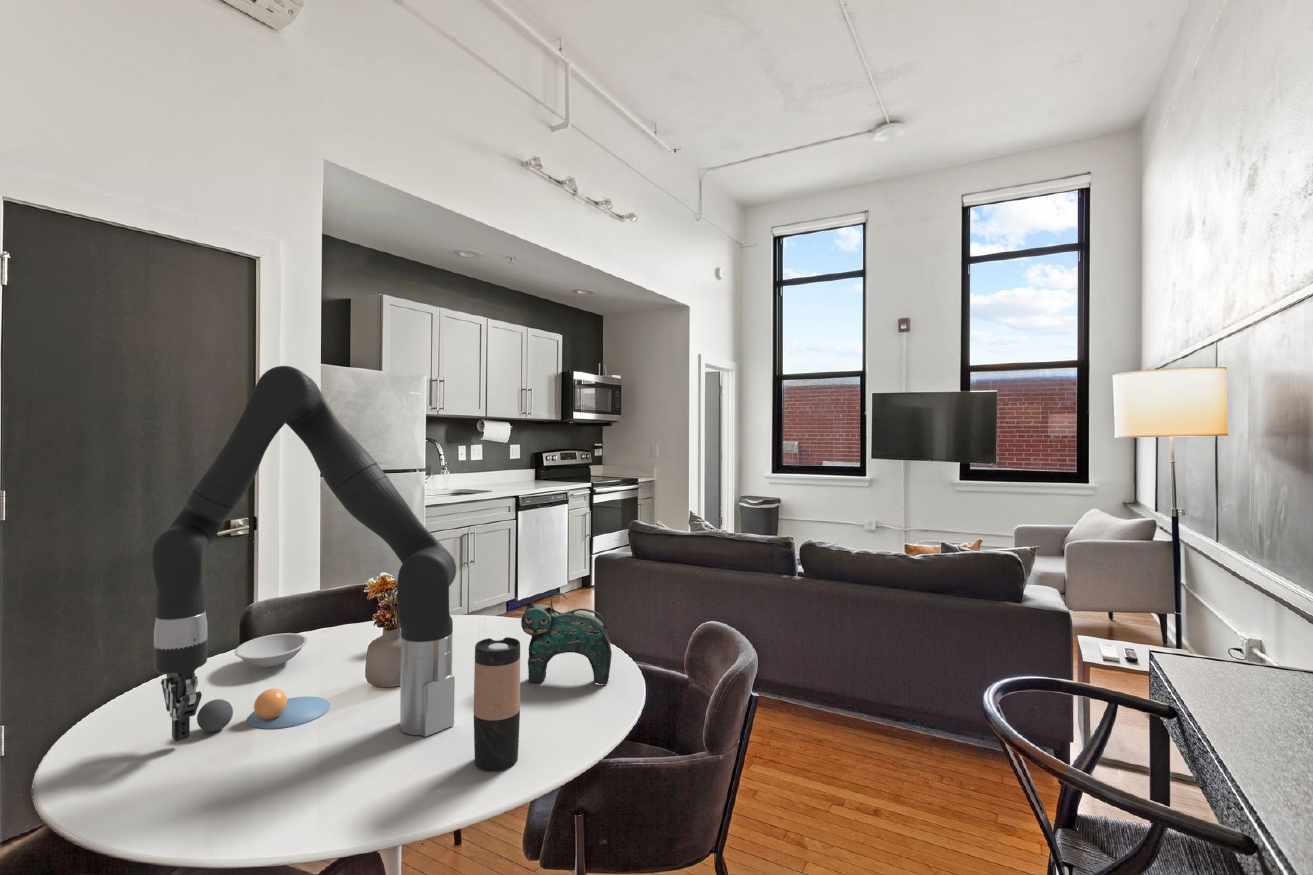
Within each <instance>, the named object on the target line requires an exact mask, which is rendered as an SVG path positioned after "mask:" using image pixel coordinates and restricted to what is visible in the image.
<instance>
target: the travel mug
mask: <svg viewBox="0 0 1313 875" xmlns="http://www.w3.org/2000/svg"><path fill="white" fill-rule="evenodd" d="M473 676H474V679H473V680H474V681H473V682H474V683H473V684H474V686H473V739H474V741H473V743H474V745H473V746H474V752H473V753H474V765H475V767H476V768H477V769H478V770H480V771H482V770H484V771H483V772H487V771H488V773H493V772H492V771H497V772H501V771H500V770H502V771H506V770H508V769H510V768H512V767H514V766H515V765H516V764H517V762H518V759H519V746H520V744H519V741H520V739H519V738H520V719H521V718H520V716H521V642H520V641H519V639H517V638H514V637H510V636H509V637H508V636H507V637H504V638H503V639H499V640H494V639H492V638H485V639H482V640H480V641H478V642H476V644H475V646H474V673H473ZM515 763H516V764H515ZM514 764H515V765H514ZM511 766H512V767H511ZM507 768H508V769H507ZM505 769H506V770H505ZM489 771H490V772H489Z"/></svg>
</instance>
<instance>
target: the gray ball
mask: <svg viewBox="0 0 1313 875" xmlns="http://www.w3.org/2000/svg"><path fill="white" fill-rule="evenodd" d="M233 715H234V708H233V706H232V704H231V703H230V702H229V701H227V700H225V699H221V698H219V699H213V700H210V701H208V702H206V703H204V704H203V705H202V707H201V708H200V709H199V711H198V713H197V714H196V723H197V724H198V727H199V728H200V729H201V730H203V731H205V732H218V731H220V730H222V729H224V728H225V727H226V726H227V725H228V724H230V722H231V720H232V719H233Z"/></svg>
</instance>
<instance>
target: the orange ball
mask: <svg viewBox="0 0 1313 875" xmlns="http://www.w3.org/2000/svg"><path fill="white" fill-rule="evenodd" d="M287 699H288V697H287V695H286V694H285V692H284V691H282V690H280V689H278V688H271V689H267V690H264V691H263V692H262V693H260V694H259V695H258V696H257V697H256V699H255V701H254V704H253V712H254V711H255V714H256V715H257V716H258V717H259V718H261V719H264V720H270V719H274V718H276V717H278V716H280V715H281V714H282V713H283V711H284V710H285V708H286V706H287Z"/></svg>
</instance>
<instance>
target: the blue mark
mask: <svg viewBox="0 0 1313 875" xmlns="http://www.w3.org/2000/svg"><path fill="white" fill-rule="evenodd" d="M330 707H331V704H330V702H329V701H328V699H325V698H322V697H318V696H297V697H289V698H288V697H287V706H286V708H285V710H284V711H283V713H282V714H281V715H280V716H278V717H276V718H274V719H270V720H264V719H261V718H259V717H258V716H257V715H256V714H255V711H254V710H253V711H252V712H251V713H250V714H249V716H248V719H247V722H248V724H249V725H250V726H252V727H253V728H256V729H257V728H258V729H262V730H263V729H264V730H267V729H268V730H271V729H272V730H276V729H286V728H291V727H295V726H299V725H303V724H307V723H309V722H313V721H315V720H316V719H319V718H321V717H323V715H325V714H326V713H327V712H328V711H329V710H330Z"/></svg>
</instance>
